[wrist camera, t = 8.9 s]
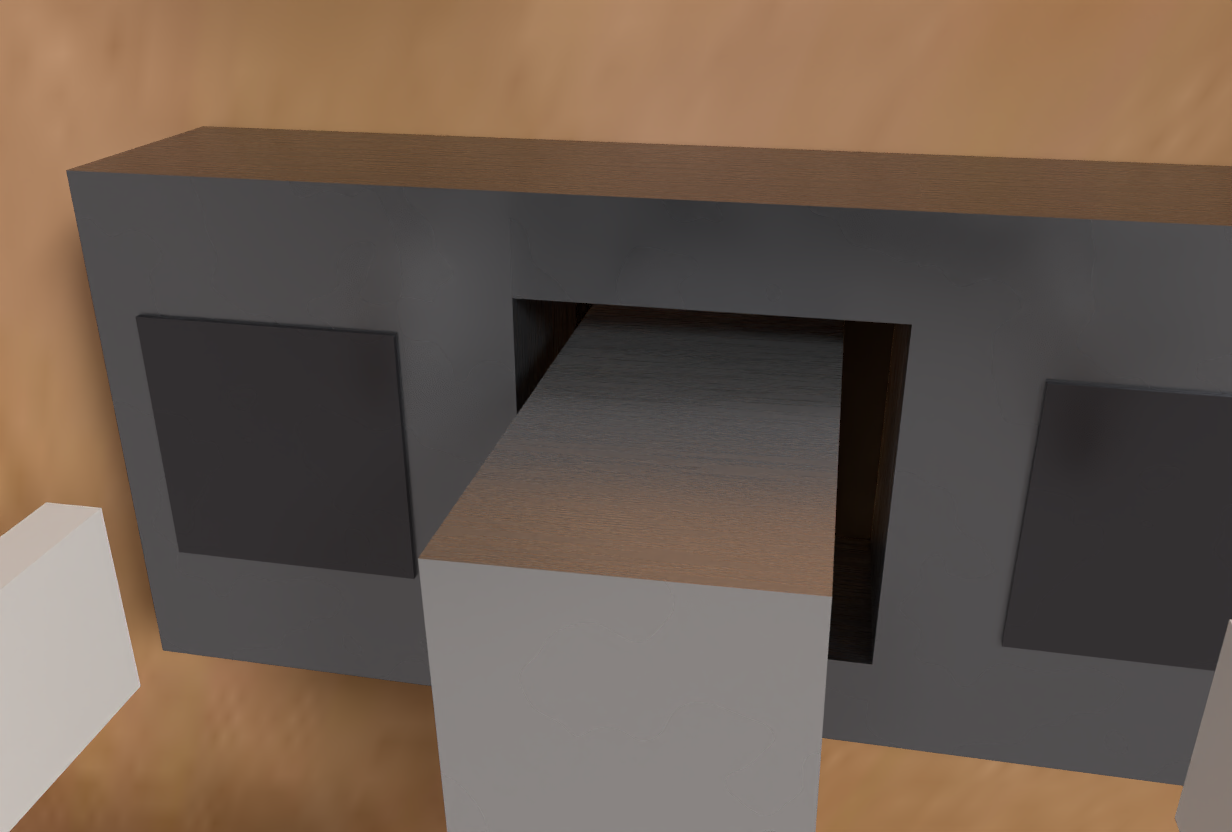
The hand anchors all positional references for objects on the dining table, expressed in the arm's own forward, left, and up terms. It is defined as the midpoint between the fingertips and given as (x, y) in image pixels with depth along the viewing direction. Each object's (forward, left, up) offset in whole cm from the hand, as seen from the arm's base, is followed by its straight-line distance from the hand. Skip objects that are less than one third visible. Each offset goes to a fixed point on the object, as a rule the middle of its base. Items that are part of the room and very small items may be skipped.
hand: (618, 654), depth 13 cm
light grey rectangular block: (0, 0, -9) cm, 9 cm away
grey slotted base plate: (0, 0, -9) cm, 9 cm away
